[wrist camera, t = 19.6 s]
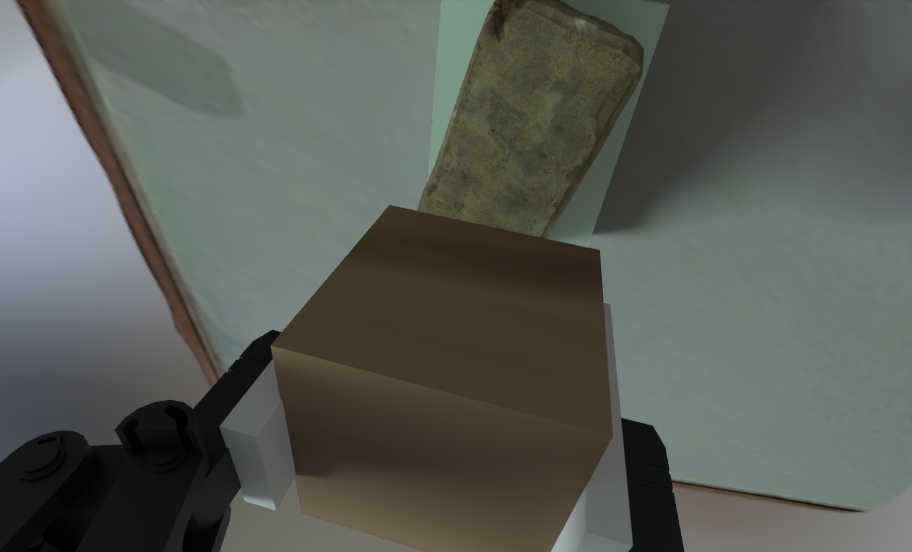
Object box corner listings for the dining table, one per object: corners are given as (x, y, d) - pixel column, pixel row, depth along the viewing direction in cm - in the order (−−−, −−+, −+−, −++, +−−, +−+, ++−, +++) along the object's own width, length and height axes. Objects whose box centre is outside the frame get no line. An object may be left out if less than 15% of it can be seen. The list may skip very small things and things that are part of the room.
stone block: (644, 31, 17) (663, 51, 13) (525, 252, 24) (514, 307, 20) (510, -27, 17) (489, -25, 13) (429, 211, 24) (399, 258, 20)
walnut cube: (389, 204, 13) (270, 346, 8) (599, 250, 12) (612, 436, 7) (385, 352, 16) (301, 512, 11) (547, 394, 15) (532, 585, 10)
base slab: (459, -28, 20) (443, -28, 18) (658, 0, 19) (670, 5, 17) (437, 205, 27) (423, 228, 25) (582, 235, 26) (582, 262, 24)
